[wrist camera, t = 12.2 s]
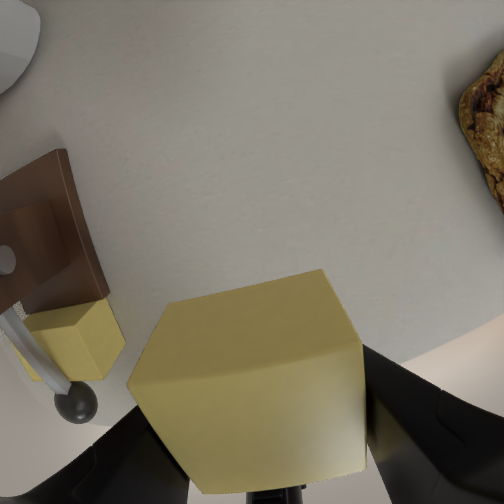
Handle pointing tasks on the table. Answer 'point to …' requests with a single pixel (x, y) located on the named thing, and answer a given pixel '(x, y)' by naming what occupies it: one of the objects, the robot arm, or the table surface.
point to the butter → (77, 340)
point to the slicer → (46, 240)
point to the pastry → (487, 124)
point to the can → (16, 40)
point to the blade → (51, 372)
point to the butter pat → (257, 386)
